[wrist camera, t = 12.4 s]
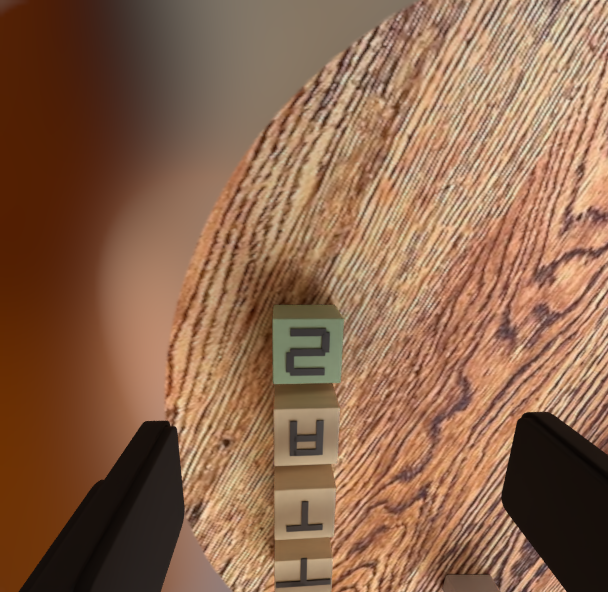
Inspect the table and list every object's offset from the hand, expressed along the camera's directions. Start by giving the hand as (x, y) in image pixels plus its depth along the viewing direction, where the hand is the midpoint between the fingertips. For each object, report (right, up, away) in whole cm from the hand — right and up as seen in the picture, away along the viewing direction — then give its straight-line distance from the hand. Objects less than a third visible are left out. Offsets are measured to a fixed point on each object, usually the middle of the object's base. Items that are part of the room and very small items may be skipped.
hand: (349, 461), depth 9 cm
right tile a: (-1, -3, +14) cm, 14 cm away
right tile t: (-1, -9, +15) cm, 17 cm away
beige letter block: (-1, -15, +16) cm, 22 cm away
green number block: (-1, +2, +12) cm, 12 cm away
